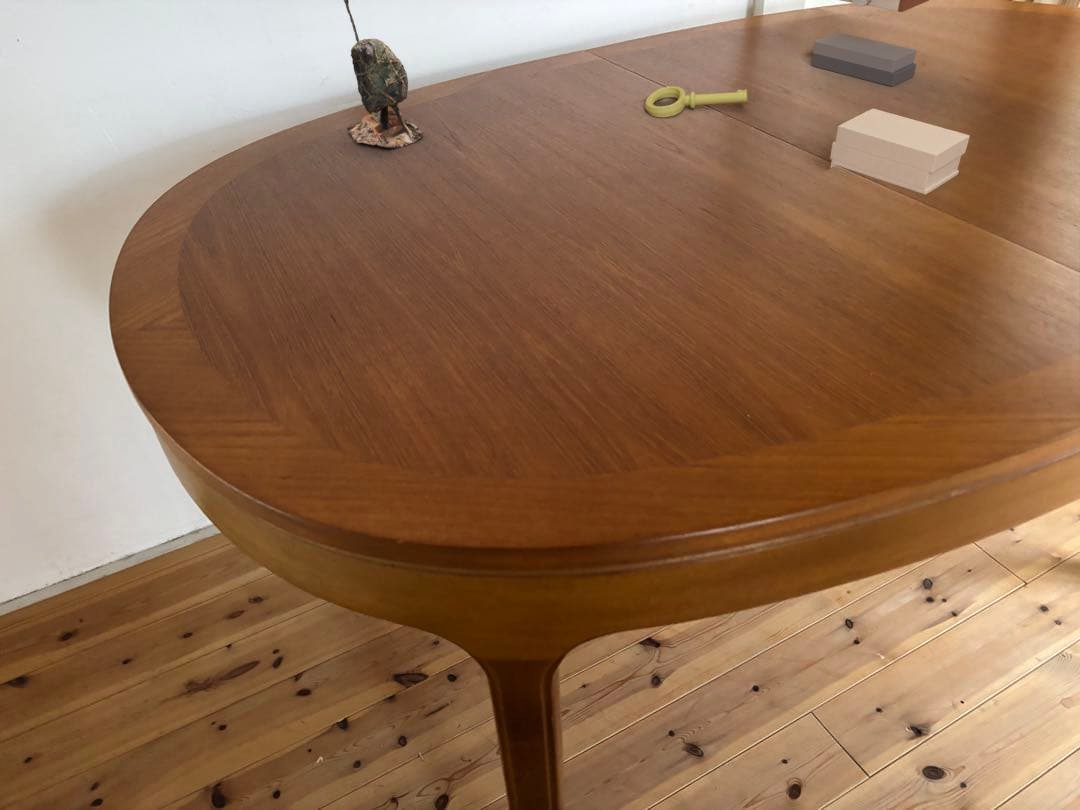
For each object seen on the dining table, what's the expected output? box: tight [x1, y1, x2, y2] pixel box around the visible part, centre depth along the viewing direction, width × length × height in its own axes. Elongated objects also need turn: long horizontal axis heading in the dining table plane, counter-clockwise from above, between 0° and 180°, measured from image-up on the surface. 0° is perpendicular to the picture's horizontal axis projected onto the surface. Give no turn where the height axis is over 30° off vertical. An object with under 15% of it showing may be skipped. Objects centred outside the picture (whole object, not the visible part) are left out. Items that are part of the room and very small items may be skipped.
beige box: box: [829, 108, 971, 195], centre depth 88 cm, size 11×6×5 cm, turn 42°
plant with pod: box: [343, 0, 424, 149], centre depth 98 cm, size 8×11×20 cm
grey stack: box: [810, 31, 917, 87], centre depth 114 cm, size 12×5×3 cm, turn 42°
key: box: [644, 85, 748, 118], centre depth 108 cm, size 7×12×2 cm, turn 95°
